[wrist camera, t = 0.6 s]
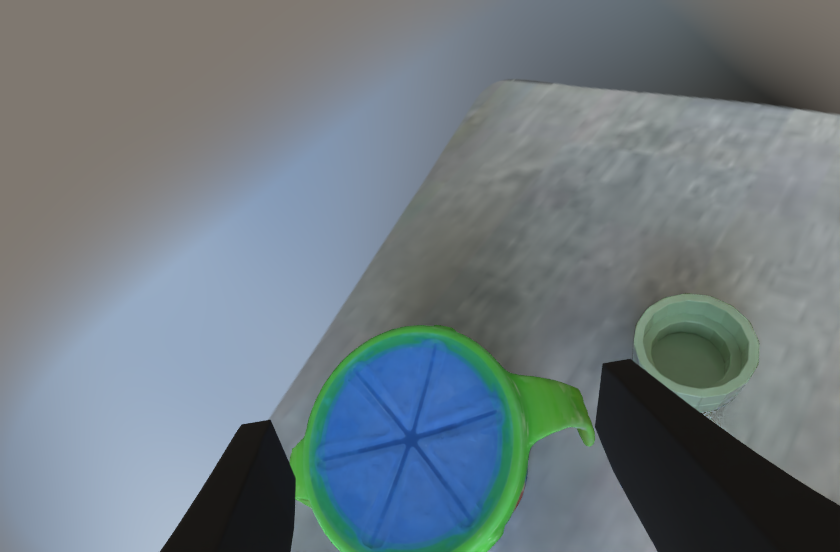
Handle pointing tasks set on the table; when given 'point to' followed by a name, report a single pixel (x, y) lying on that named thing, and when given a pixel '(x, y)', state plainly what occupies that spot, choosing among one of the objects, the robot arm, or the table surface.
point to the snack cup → (425, 443)
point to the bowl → (697, 348)
